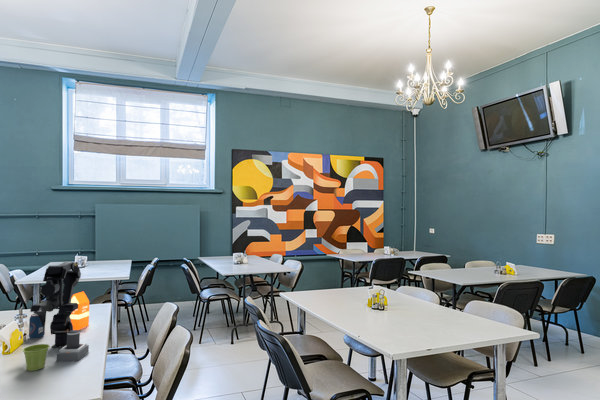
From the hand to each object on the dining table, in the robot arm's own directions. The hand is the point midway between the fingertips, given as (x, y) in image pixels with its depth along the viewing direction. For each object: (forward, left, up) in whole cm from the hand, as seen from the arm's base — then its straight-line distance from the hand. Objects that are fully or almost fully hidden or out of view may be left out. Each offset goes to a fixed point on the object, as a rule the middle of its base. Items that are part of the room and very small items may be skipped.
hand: (54, 325), depth 181 cm
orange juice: (-43, -8, -13) cm, 46 cm away
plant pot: (+17, +1, -13) cm, 22 cm away
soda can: (-26, -21, -13) cm, 36 cm away
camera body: (+5, +11, -13) cm, 18 cm away
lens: (+5, +11, -10) cm, 15 cm away
